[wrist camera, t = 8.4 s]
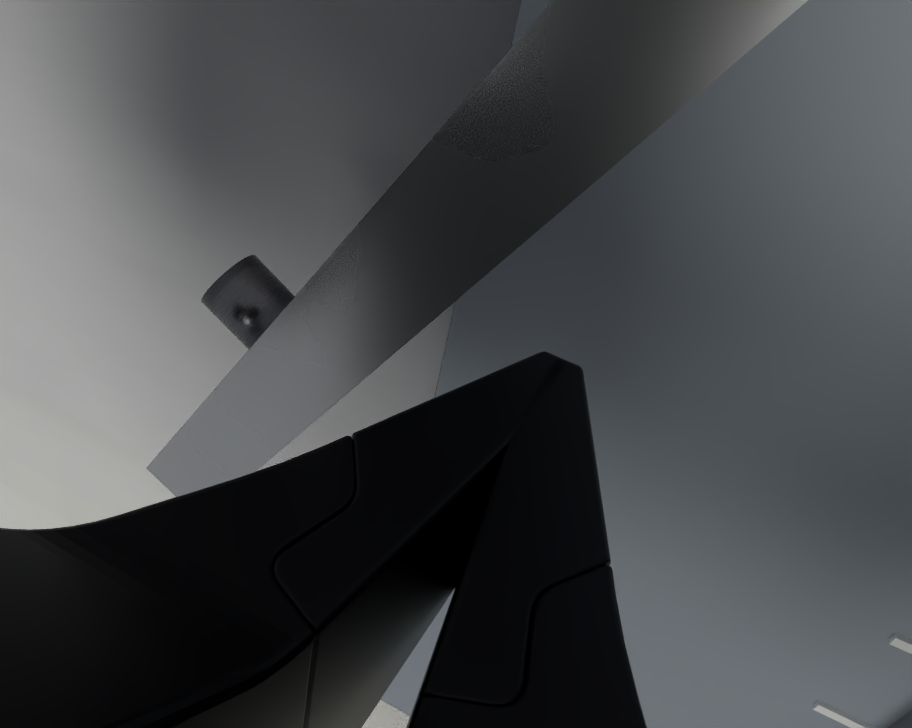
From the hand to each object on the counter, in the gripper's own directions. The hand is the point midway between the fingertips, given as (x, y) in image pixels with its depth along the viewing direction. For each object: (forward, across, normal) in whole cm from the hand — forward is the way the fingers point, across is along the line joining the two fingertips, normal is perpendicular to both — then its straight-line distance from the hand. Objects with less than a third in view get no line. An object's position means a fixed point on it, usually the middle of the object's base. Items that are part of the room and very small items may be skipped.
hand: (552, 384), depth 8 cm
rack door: (+2, +2, -2) cm, 4 cm away
